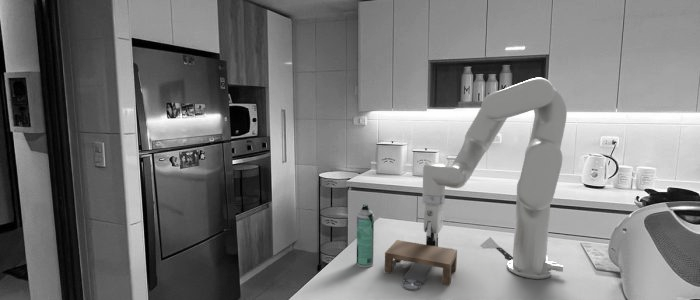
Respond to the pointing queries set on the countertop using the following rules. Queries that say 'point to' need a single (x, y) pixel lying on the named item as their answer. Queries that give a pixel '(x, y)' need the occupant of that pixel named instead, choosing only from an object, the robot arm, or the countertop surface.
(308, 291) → the countertop surface
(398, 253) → the walnut bench
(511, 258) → the cleaver
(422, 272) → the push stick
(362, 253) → the spray can
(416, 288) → the disc
